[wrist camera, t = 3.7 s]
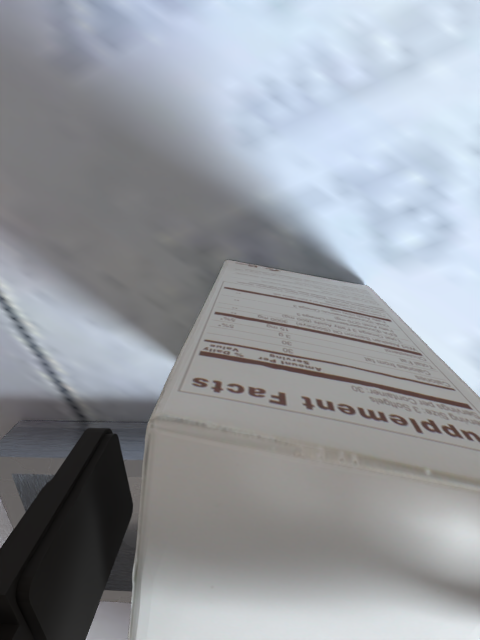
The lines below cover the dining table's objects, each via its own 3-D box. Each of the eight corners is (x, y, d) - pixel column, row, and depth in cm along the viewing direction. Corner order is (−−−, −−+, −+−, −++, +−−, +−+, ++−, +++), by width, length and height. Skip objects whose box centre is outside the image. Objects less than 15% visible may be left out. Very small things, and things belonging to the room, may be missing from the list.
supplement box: (330, 405, 20) (426, 737, 8) (202, 379, 20) (111, 677, 8) (373, 282, 17) (622, 519, 5) (224, 252, 17) (132, 423, 5)
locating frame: (216, 423, 21) (209, 461, 18) (227, 560, 25) (222, 607, 23) (20, 420, 22) (-17, 456, 19) (65, 553, 26) (41, 597, 23)
